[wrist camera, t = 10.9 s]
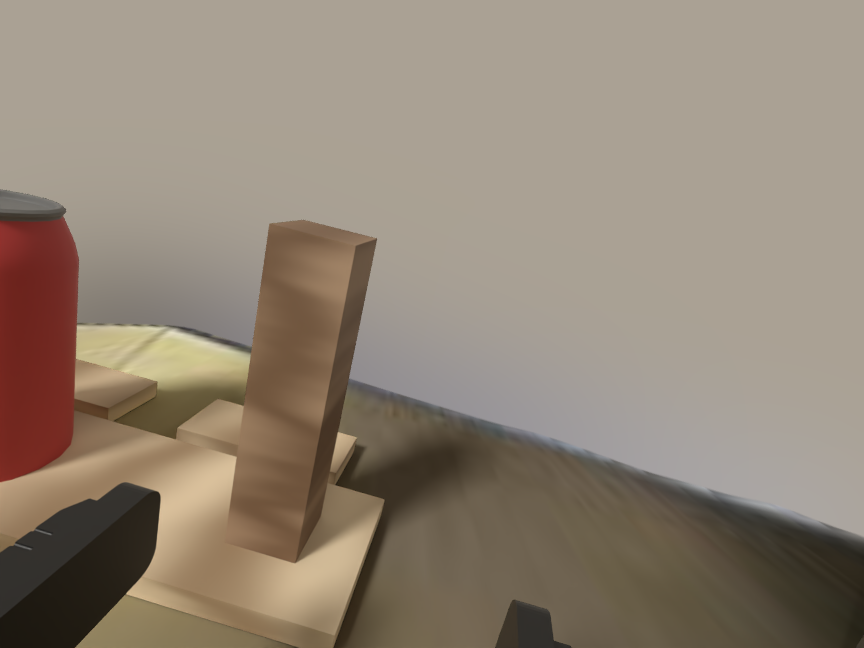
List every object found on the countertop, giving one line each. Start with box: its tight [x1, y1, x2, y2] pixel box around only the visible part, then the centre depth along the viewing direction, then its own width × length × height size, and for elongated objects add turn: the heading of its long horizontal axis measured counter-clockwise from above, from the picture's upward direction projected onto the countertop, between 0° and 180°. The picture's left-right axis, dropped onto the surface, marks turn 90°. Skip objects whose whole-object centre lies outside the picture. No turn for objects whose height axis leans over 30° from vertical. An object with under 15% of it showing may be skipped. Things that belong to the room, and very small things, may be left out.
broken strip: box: [74, 359, 357, 485], centre depth 29 cm, size 22×4×1 cm, turn 83°
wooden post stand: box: [0, 220, 385, 648], centre depth 20 cm, size 22×8×14 cm, turn 83°
